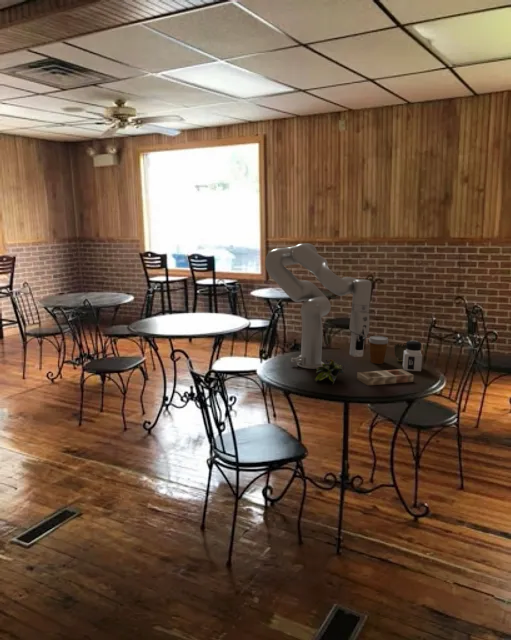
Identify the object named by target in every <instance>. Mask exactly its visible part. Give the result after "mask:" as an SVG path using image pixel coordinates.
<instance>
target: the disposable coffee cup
mask: <svg viewBox="0 0 511 640" xmlns="http://www.w3.org/2000/svg"><path fill="white" fill-rule="evenodd" d="M368 343H369V345H368V346H369V357H370V358H369V359H370V363H373V364H378V365H380V364H384V362H385V358H386V354H387V353H386V351H387V348H388V344H389V338H388V337H386V336H382V335H373V336H372V335H371V336H369V339H368Z"/></svg>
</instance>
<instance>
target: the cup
mask: <svg viewBox="0 0 511 640" xmlns="http://www.w3.org/2000/svg"><path fill="white" fill-rule="evenodd" d="M393 347H394V356H395V358H397V362H399V363H403V354H404V350H406V344H402V343H401V344H399V343H396V344H395V345H394V346H393Z"/></svg>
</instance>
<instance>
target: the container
mask: <svg viewBox="0 0 511 640" xmlns="http://www.w3.org/2000/svg"><path fill="white" fill-rule="evenodd" d="M405 345H406V350H404V354H403V362H402V368H403V370H405V371H408V372H421V371H422V365H423V354H422V351H421V350H422V343H421V342H420V341H418V340H407V341H406V344H405Z"/></svg>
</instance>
